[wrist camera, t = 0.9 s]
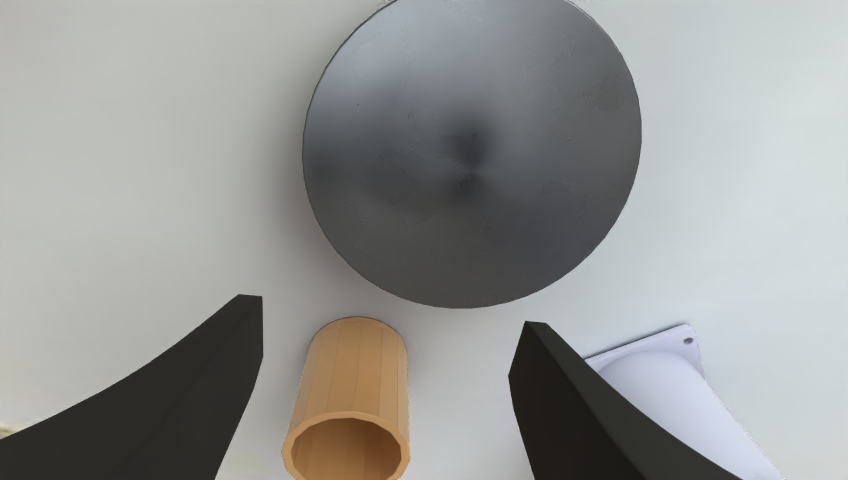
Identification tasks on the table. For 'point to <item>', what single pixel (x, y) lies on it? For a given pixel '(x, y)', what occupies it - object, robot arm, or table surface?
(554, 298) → the table surface
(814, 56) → the table surface
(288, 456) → the cup
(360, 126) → the grey disc
